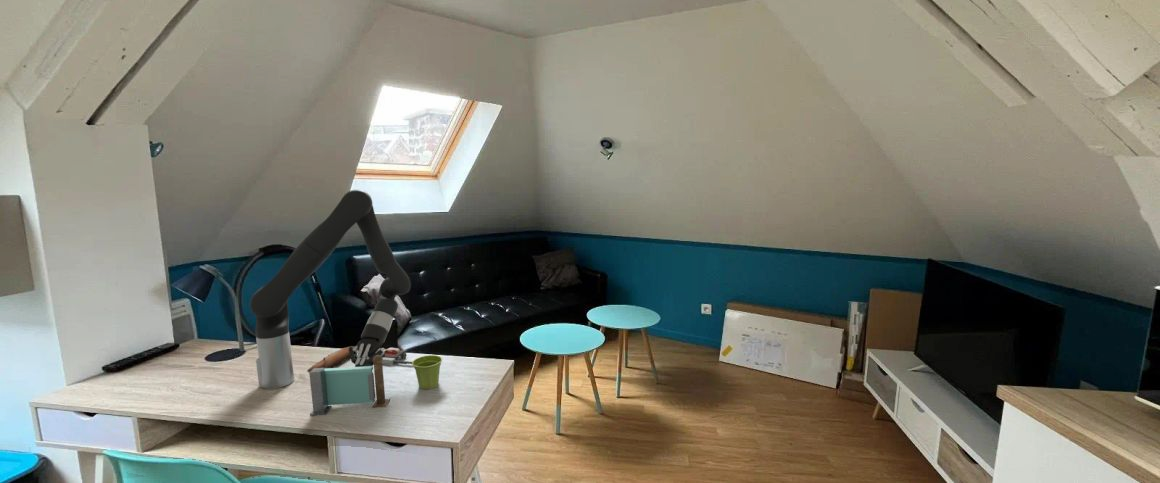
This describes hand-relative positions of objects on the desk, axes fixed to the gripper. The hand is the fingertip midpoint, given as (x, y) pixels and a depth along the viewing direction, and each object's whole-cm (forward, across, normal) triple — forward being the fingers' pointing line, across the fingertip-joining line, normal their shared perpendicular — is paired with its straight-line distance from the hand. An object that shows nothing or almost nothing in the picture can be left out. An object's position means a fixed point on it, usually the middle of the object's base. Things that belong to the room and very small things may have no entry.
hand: (355, 377), depth 150 cm
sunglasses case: (-10, -26, +19) cm, 34 cm away
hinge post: (+7, +11, +2) cm, 13 cm away
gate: (+8, +2, -1) cm, 9 cm away
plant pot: (-3, +19, +12) cm, 23 cm away
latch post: (+12, -3, -4) cm, 13 cm away
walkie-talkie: (-15, -5, +24) cm, 28 cm away
